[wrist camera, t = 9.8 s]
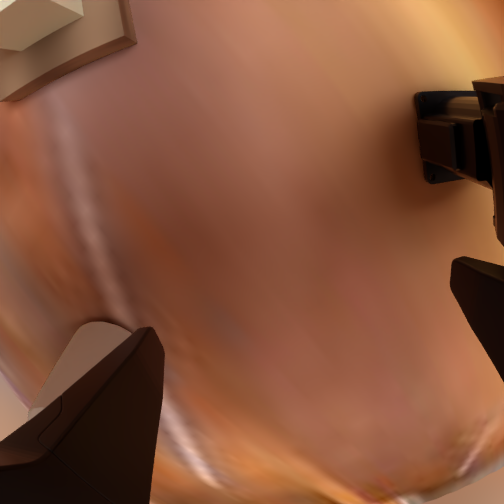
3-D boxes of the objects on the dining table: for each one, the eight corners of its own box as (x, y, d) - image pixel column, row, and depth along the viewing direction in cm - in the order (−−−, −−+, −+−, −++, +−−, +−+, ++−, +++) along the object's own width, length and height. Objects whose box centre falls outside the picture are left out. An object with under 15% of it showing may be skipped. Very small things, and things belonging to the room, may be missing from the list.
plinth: (120, -60, 13) (107, -77, 10) (139, 44, 17) (124, 35, 14) (12, -2, 13) (-9, -8, 11) (23, 100, 17) (-1, 101, 15)
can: (62, 335, 25) (3, 433, 14) (112, 300, 24) (48, 418, 13) (117, 388, 28) (82, 490, 17) (172, 363, 26) (145, 484, 15)
